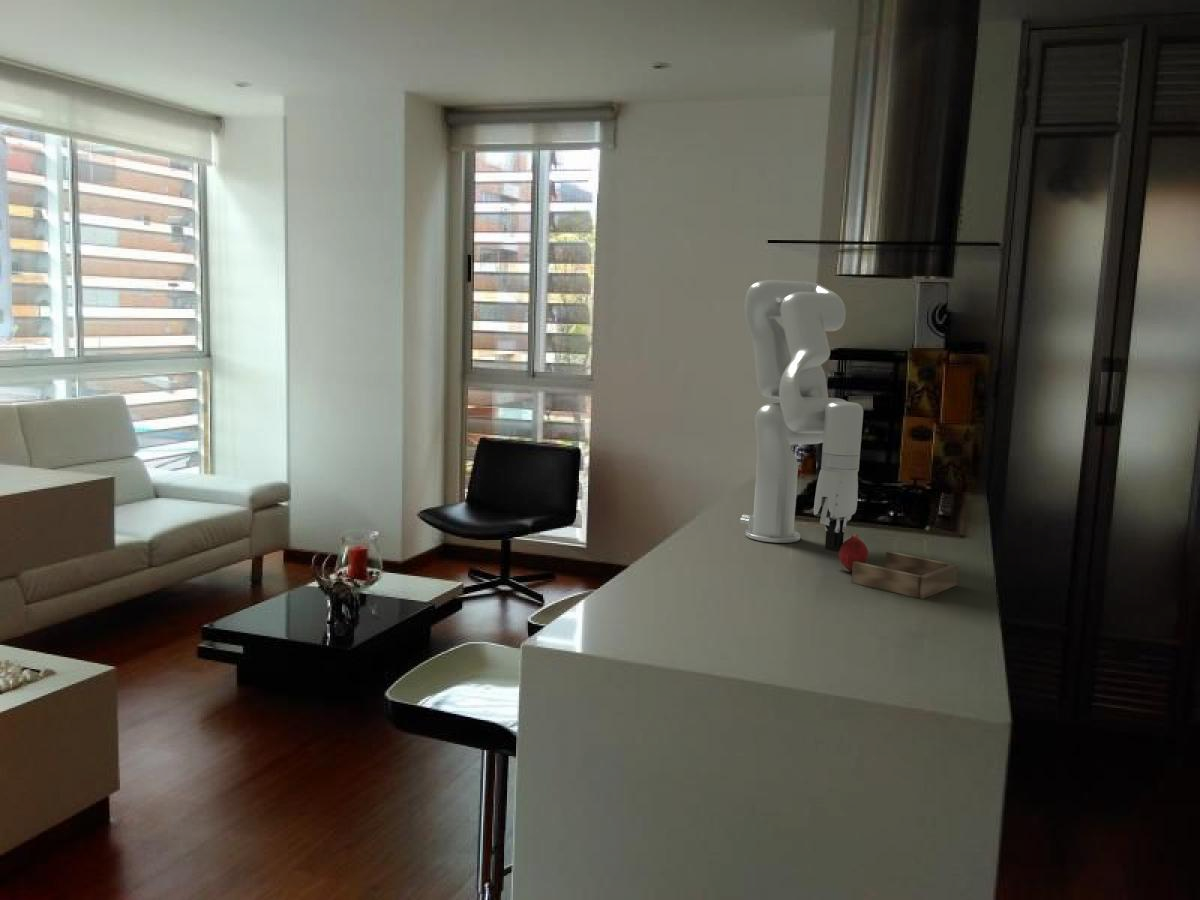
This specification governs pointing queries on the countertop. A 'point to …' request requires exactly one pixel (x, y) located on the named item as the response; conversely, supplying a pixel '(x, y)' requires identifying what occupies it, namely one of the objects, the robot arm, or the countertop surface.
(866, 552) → the onion
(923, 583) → the wooden tray
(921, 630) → the countertop surface
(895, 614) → the countertop surface
